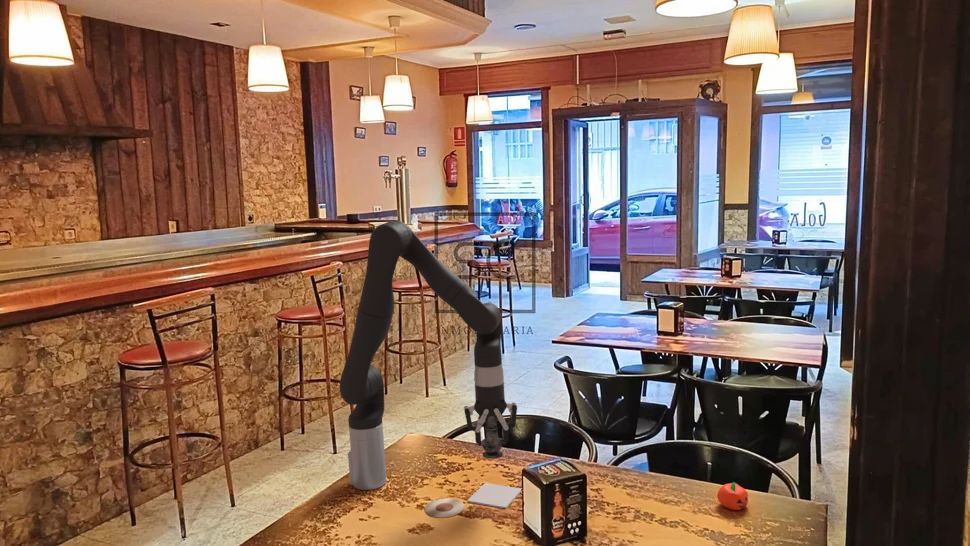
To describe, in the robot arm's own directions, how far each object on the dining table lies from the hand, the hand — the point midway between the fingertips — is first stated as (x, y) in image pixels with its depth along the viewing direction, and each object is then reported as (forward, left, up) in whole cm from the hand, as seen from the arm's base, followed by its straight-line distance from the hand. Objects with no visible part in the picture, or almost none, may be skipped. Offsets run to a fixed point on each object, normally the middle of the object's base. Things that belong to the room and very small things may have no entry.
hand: (492, 443), depth 175 cm
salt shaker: (0, 0, -3) cm, 3 cm away
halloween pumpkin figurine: (+58, +15, -15) cm, 61 cm away
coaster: (-9, -10, -14) cm, 20 cm away
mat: (0, 0, -14) cm, 14 cm away
